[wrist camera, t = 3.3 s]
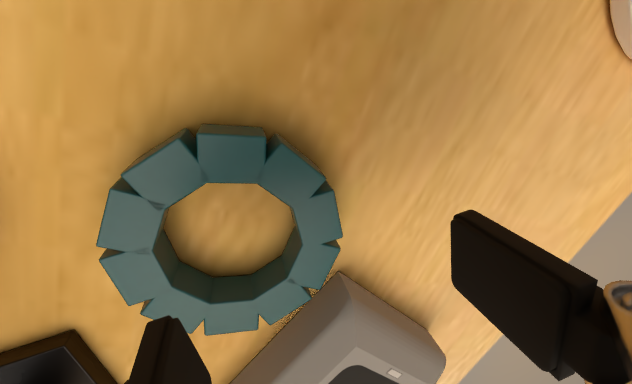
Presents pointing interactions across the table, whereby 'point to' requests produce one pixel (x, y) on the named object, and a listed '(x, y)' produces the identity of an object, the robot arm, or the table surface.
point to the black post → (53, 363)
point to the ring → (191, 284)
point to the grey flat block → (347, 344)
